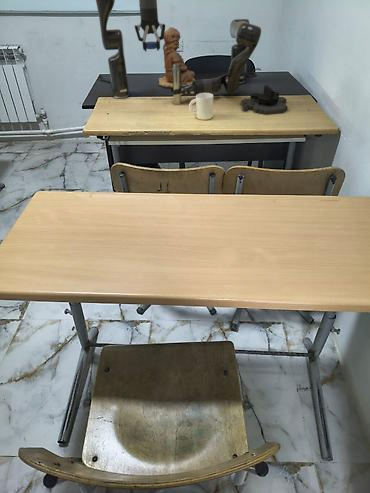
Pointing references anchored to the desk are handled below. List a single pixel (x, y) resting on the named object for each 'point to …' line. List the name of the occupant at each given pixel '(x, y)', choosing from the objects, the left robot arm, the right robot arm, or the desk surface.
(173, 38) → the sculpture
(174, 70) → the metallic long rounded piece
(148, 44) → the lid
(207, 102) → the mug
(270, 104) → the abstract sculpture
